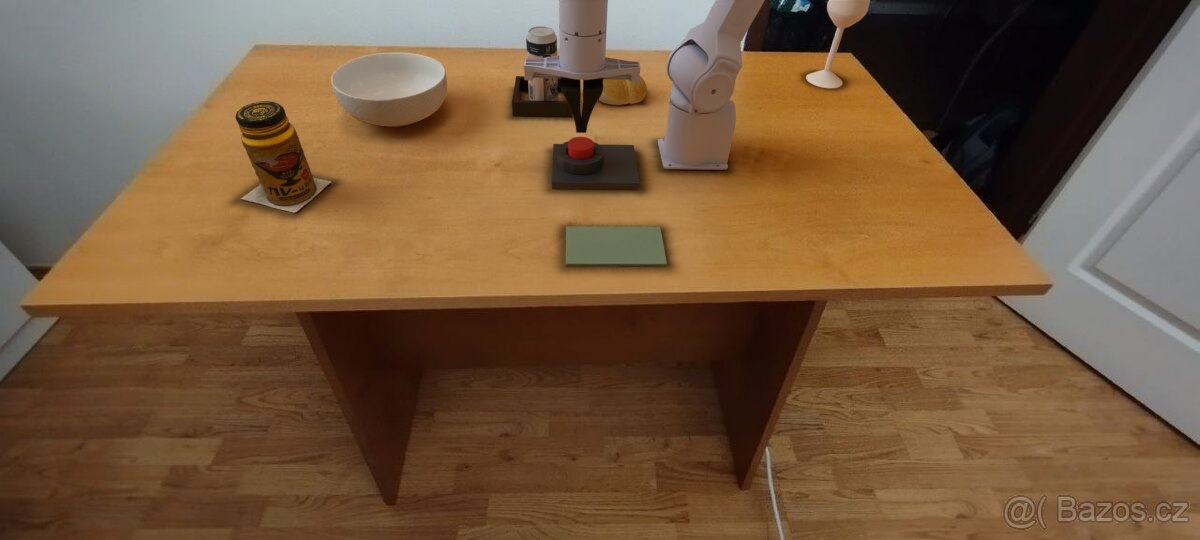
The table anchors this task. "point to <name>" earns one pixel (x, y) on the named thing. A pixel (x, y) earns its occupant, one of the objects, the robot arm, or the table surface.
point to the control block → (596, 168)
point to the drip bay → (537, 103)
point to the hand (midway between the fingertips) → (581, 129)
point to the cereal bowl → (390, 88)
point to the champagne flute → (838, 37)
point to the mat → (614, 246)
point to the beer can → (542, 46)
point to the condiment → (276, 158)
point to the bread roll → (623, 91)
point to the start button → (580, 148)
